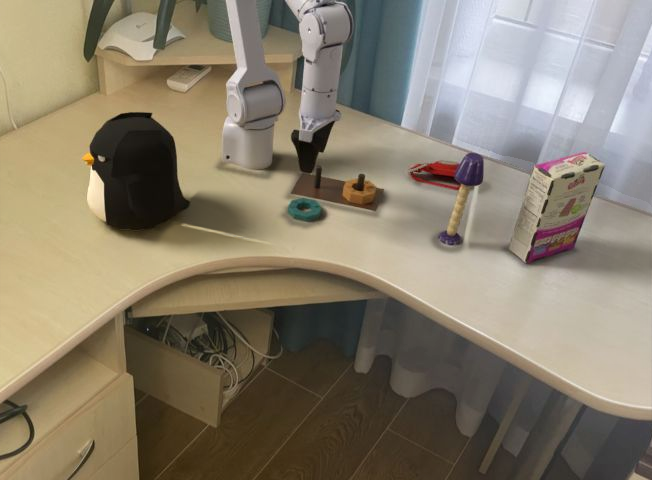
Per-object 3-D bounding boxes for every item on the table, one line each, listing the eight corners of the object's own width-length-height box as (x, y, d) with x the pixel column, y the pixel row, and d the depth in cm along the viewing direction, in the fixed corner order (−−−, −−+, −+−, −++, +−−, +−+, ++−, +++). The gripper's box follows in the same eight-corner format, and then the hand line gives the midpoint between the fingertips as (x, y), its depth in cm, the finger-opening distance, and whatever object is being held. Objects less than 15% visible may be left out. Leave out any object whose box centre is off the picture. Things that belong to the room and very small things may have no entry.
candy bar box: (553, 234, 133) (585, 150, 121) (573, 249, 129) (608, 164, 118) (505, 249, 129) (533, 163, 117) (524, 265, 125) (555, 178, 114)
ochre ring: (340, 200, 136) (341, 191, 135) (347, 184, 140) (348, 176, 139) (370, 206, 135) (372, 197, 134) (376, 190, 139) (378, 182, 138)
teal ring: (284, 220, 132) (284, 211, 130) (293, 204, 136) (293, 195, 134) (315, 227, 131) (316, 218, 129) (323, 210, 135) (324, 201, 133)
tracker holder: (443, 156, 149) (485, 166, 142) (439, 178, 151) (481, 189, 144) (403, 159, 142) (445, 169, 135) (400, 182, 143) (441, 194, 137)
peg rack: (290, 197, 137) (292, 172, 134) (301, 176, 143) (303, 152, 140) (375, 214, 134) (379, 190, 131) (383, 192, 140) (387, 169, 137)
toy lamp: (465, 239, 130) (490, 152, 119) (462, 253, 127) (487, 166, 115) (438, 233, 131) (460, 146, 120) (434, 247, 128) (456, 159, 116)
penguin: (81, 194, 135) (68, 102, 123) (177, 180, 140) (173, 91, 128) (99, 250, 123) (87, 155, 111) (204, 233, 127) (203, 140, 116)
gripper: (333, 108, 113) (324, 186, 123) (354, 71, 124) (344, 146, 133) (289, 100, 115) (283, 177, 124) (313, 64, 125) (306, 139, 134)
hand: (312, 161), depth 129 cm, fingers open, 7 cm apart
